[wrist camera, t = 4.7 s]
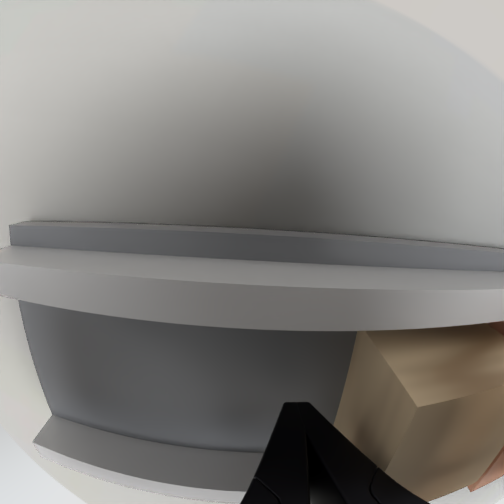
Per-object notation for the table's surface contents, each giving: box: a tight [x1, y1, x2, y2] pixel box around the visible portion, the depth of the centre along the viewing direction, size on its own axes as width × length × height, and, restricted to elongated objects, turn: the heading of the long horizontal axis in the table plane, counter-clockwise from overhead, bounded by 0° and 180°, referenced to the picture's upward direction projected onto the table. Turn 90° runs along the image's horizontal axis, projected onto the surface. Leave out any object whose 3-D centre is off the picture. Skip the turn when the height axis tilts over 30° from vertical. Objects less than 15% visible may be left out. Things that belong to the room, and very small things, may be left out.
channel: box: [0, 221, 504, 504], centre depth 8 cm, size 19×10×5 cm, turn 87°
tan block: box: [333, 323, 504, 502], centre depth 7 cm, size 5×5×4 cm
